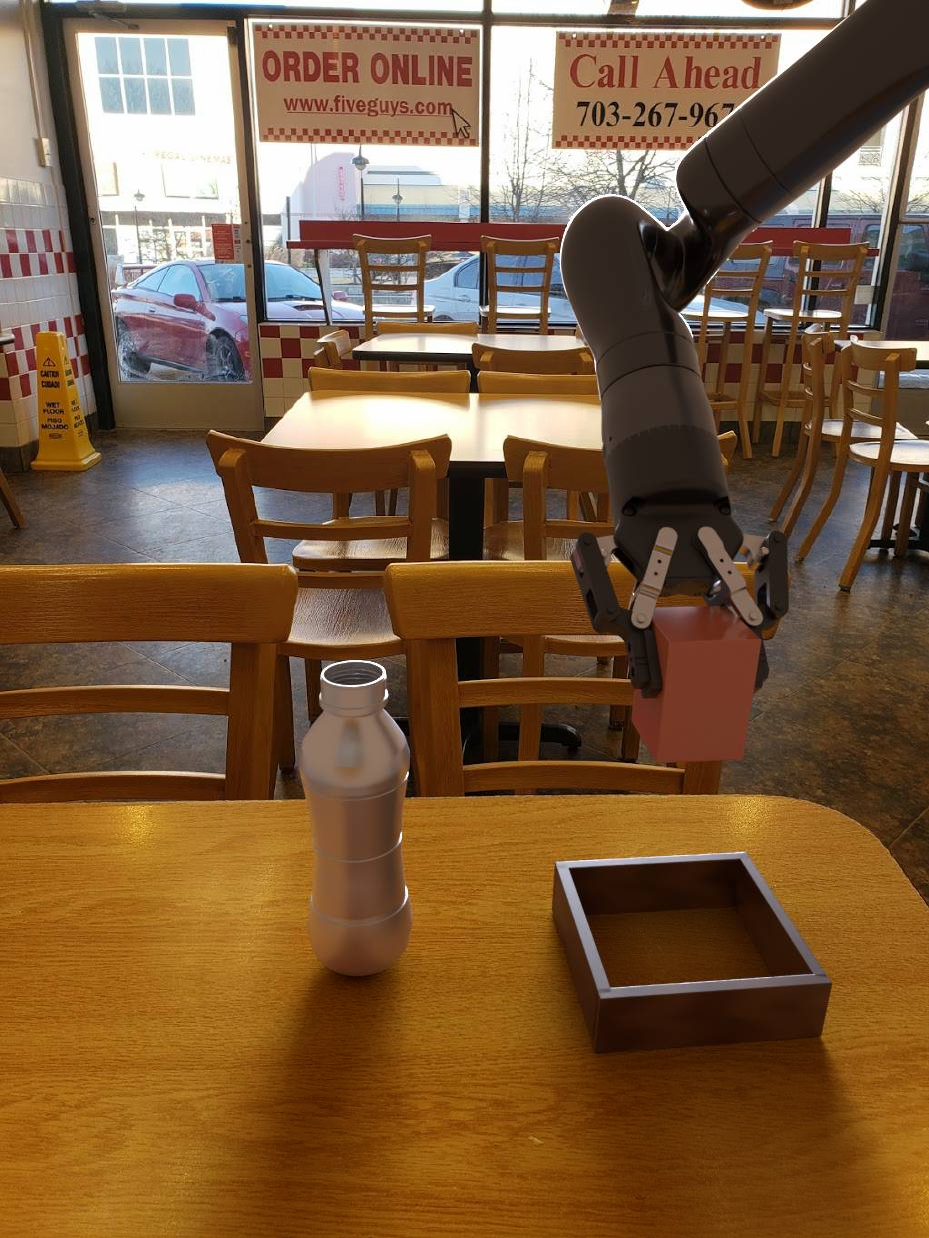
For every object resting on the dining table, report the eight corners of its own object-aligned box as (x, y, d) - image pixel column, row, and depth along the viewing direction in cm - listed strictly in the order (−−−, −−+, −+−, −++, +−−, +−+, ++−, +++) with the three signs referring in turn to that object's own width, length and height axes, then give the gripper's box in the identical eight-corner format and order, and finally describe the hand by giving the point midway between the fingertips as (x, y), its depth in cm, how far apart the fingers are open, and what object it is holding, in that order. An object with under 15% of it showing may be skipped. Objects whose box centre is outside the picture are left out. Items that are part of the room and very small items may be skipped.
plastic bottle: (426, 974, 59) (429, 687, 52) (321, 1002, 57) (308, 706, 49) (395, 911, 65) (393, 644, 57) (298, 934, 62) (283, 659, 55)
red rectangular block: (711, 718, 62) (726, 605, 59) (743, 760, 57) (762, 639, 54) (630, 720, 62) (642, 607, 59) (656, 763, 57) (670, 641, 54)
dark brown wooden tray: (739, 898, 67) (746, 851, 65) (821, 1036, 55) (832, 982, 54) (551, 909, 65) (554, 861, 64) (595, 1053, 54) (600, 998, 52)
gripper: (567, 420, 58) (600, 675, 52) (786, 420, 60) (846, 668, 54) (545, 483, 65) (572, 716, 59) (743, 482, 67) (791, 708, 60)
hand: (703, 692), depth 56 cm, fingers closed on red rectangular block, 5 cm apart
